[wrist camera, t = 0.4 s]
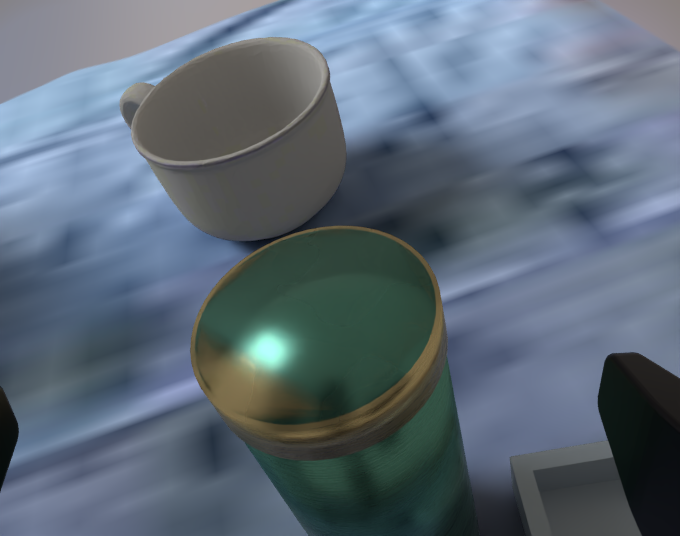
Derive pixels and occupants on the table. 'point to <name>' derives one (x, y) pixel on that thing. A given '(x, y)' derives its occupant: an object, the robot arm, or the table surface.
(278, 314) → the tea tin
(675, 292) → the table surface
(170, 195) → the teacup
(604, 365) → the robot arm
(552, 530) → the tray
